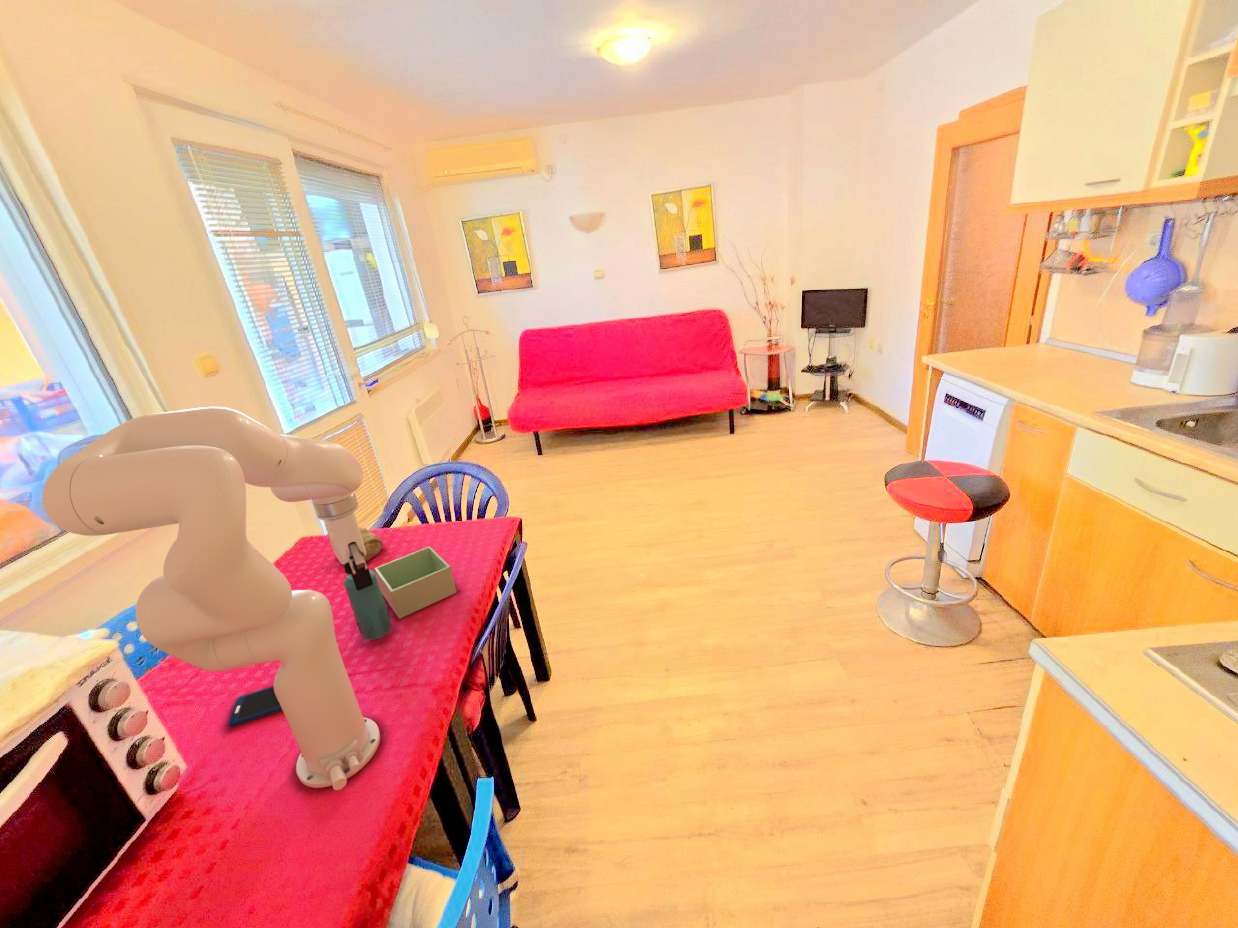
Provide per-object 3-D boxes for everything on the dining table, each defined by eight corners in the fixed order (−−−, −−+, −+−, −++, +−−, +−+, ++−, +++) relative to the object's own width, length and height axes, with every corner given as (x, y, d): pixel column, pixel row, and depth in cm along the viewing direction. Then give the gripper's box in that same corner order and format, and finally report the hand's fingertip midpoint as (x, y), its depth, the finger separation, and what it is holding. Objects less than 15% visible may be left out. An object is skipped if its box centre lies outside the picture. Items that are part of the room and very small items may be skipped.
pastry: (344, 546, 153) (336, 523, 150) (387, 539, 156) (380, 516, 153) (330, 571, 140) (322, 546, 137) (378, 562, 143) (370, 537, 140)
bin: (456, 592, 126) (450, 566, 123) (399, 619, 118) (391, 591, 115) (436, 570, 136) (429, 546, 134) (381, 593, 128) (374, 568, 125)
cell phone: (237, 700, 98) (236, 697, 98) (317, 674, 103) (316, 671, 103) (227, 728, 92) (226, 725, 91) (313, 699, 97) (312, 696, 96)
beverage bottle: (400, 631, 113) (377, 555, 106) (373, 650, 108) (347, 571, 101) (383, 623, 117) (359, 548, 110) (356, 640, 112) (329, 564, 104)
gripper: (307, 498, 105) (332, 571, 111) (324, 525, 92) (351, 606, 99) (346, 487, 109) (368, 558, 116) (367, 511, 96) (390, 589, 103)
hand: (360, 579), depth 107 cm, fingers closed on beverage bottle, 6 cm apart
